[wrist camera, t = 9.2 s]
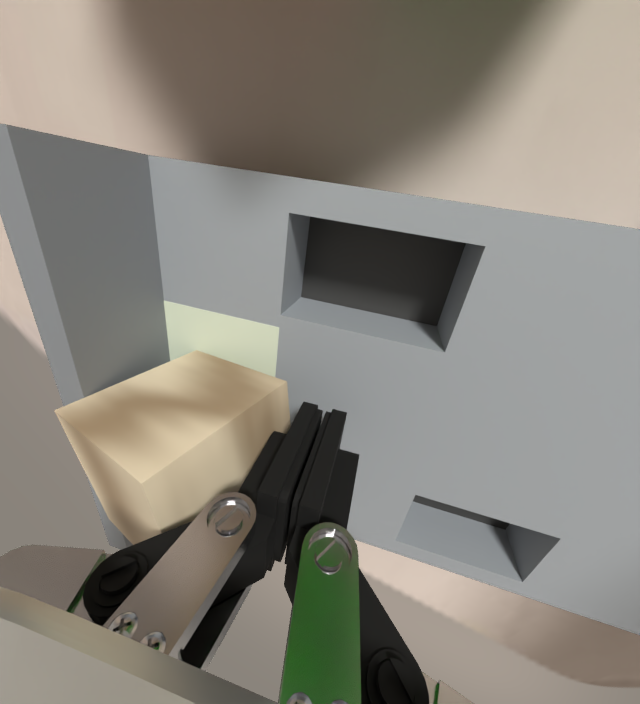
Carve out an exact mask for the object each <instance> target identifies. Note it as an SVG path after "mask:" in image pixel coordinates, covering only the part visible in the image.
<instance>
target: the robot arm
mask: <svg viewBox="0 0 640 704" xmlns="http://www.w3.org/2000/svg"><path fill="white" fill-rule="evenodd" d="M322 413H323V410H320V409H318V405H316V404H312V403H308V402H303V403H302V405H301V407H300V409H299V411H298V413H297V415H296V417H295V419H294V421H293V423H292V425H291V427H290V429H289V431H288V433H287V434H284V433H281V432H277V431H274V432H273V433H272V434H271V436H270V437H269V439H268V441H267V443H266V444H265V446H264V448H263V449H262V451H261V453H260V455H259V456H258V458H257V460H256V462H255V463H254V465H253V467H252V468H251V470H250V472H249V474H248V475H247V477H246V479H245V481H244V482H243V484H242V486H241V487H240V489H239V491H238V492H228V493H224V494H221V495H219V496H217V497H216V498H214V499H213V500H212V501H210V502H209V503H208V504H207V505H206V507H205V508H204V509H203V510H202V511H201V512H200V514H199V515H198V516H197V517H196V518H195V519H194V520H193V521H191V522H189V523H186V524H184V525H181V526H179V527H176V528H174V529H171V530H169V531H166V532H164V533H161V534H159V535H156V536H154V537H152V538H149V539H147V540H144V541H142V542H139V543H137V544H134V545H132V546H129V547H127V548H124V549H122V550H120V551H118V552H116V553H114V554H107V553H105V551H104V550H100V549H87V548H73V547H60V546H47V545H25V546H21V547H18V548H16V549H13V550H10V551H9V552H7V553H5V554H4V555H2V556H1V557H0V704H474V703H472V702H471V701H470V700H468V699H467V698H465V697H464V696H462V695H461V694H460V693H458V692H457V691H455V690H454V689H452V688H451V687H450V686H448V685H447V684H445V683H444V682H442V681H441V680H440V681H439V682H438V683H437V682H436V681H434V680H433V679H432V678H430V677H429V676H428V675H426V674H425V673H423V672H422V671H421V669H420V667H419V666H418V663H417V662H416V660H415V659H414V657H413V655H412V654H411V652H410V650H409V649H408V647H407V645H406V644H405V642H404V641H403V639H402V637H401V636H400V634H399V632H398V631H397V629H396V627H395V626H394V624H393V623H392V621H391V619H390V618H389V616H388V614H387V613H386V611H385V610H384V608H383V606H382V605H381V603H380V602H379V600H378V598H377V597H376V595H375V593H374V592H373V590H372V588H371V587H370V585H369V584H368V582H367V580H366V579H365V577H364V575H363V574H362V572H361V570H360V569H359V564H358V550H357V545H356V543H355V540H354V538H353V537H352V535H351V534H350V533H349V532H348V531H347V525H348V519H349V513H350V508H351V502H352V496H353V490H354V484H355V479H356V473H357V467H358V461H359V454H356V453H352V452H349V451H345V450H342V449H340V444H341V440H342V435H343V430H344V425H345V421H346V416H347V412H343V411H339V410H336V409H332V412H327V411H326V413H325V415H324V418H323V421H322V423H321V419H322ZM320 425H321V426H320ZM286 546H287V549H286ZM285 549H286V557H285V564H287V566H286V574H285V582H284V586H285V588H286V591H287V593H288V596H289V598H290V601H291V603H292V610H291V617H290V624H289V631H288V638H287V645H286V651H285V658H284V665H283V672H282V679H281V685H280V692H279V699H278V703H276V702H274V701H272V700H270V699H267V698H265V697H263V696H260V695H258V694H256V693H254V692H251V691H249V690H247V689H245V688H242V687H240V686H238V685H235V684H233V683H231V682H229V681H226V680H224V679H222V678H219V677H217V676H215V675H212V674H210V673H208V672H206V670H207V668H208V666H209V664H210V662H211V660H212V659H213V657H214V655H215V653H216V651H217V649H218V647H219V646H220V644H221V642H222V640H223V639H224V637H225V635H226V633H227V631H228V630H229V628H230V626H231V624H232V622H233V620H234V619H235V617H236V615H237V613H238V611H239V610H240V608H241V606H242V604H243V602H244V600H245V599H246V597H247V595H248V593H249V591H250V589H251V587H252V584H253V583H255V582H257V581H259V580H260V579H262V578H264V576H265V573H266V571H267V570H269V571H271V570H272V567H273V564H274V561H275V560H276V561H278V562H281V560H282V557H283V554H284V552H285Z"/></svg>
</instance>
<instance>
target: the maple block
mask: <svg viewBox="0 0 640 704" xmlns="http://www.w3.org/2000/svg"><path fill="white" fill-rule="evenodd" d="M54 411H55V413H56V415H57V417H58V419H59V421H60V423H61V425H62V427H63V429H64V431H65V433H66V435H67V437H68V439H69V441H70V442H71V445H72V447H73V449H74V450H75V453H76V455H77V456H78V458H79V461H80V463H81V465H82V467H83V469H84V470H85V472H86V474H87V476H88V478H89V480H90V482H91V484H92V486H93V488H94V490H95V492H96V494H97V496H98V498H99V500H100V502H101V504H102V506H103V508H104V510H105V512H106V514H107V516H108V518H109V520H110V521H111V522H112V523H113V524H114V525H115V526H116V527H117V528H118V529H119V530H120V531H121V532H122V533H123V535H124V536H125V537H126V538H127V539H128V540H129V541H130V542H131V543H132V544H133V545H134V544H137V543H139V542H142V541H144V540H147V539H149V538H152V537H154V536H156V535H159V534H161V533H164V532H166V531H169V530H171V529H174V528H176V527H179V526H181V525H184V524H186V523H189V522H191V521H193V520H194V519H195V518H196V517H197V516H198V515H199V514H200V512H201V511H202V510H203V509H204V508H205V507H206V505H207V504H208V503H209V502H210V501H212V500H213V499H214V498H216V497H217V496H219V495H221V494H224V493H228V492H238V491H239V489H240V487H241V486H242V484H243V482H244V481H245V479H246V477H247V475H248V474H249V472H250V470H251V468H252V467H253V465H254V463H255V462H256V460H257V458H258V456H259V455H260V453H261V451H262V449H263V448H264V446H265V444H266V443H267V441H268V439H269V437H270V436H271V434H272V433H273V432H274V431H277V432H281V433H284V434H287V433H288V431H289V429H290V427H291V423H290V411H289V399H288V387H287V381H284V380H282V379H279V378H276V377H273V376H270V375H267V374H264V373H261V372H258V371H256V370H253V369H250V368H247V367H244V366H241V365H238V364H235V363H233V362H230V361H227V360H224V359H221V358H218V357H215V356H212V355H209V354H207V353H204V352H201V351H198V350H195V351H193V352H191V353H188V354H186V355H184V356H181V357H179V358H177V359H174V360H172V361H170V362H167V363H165V364H162V365H160V366H158V367H155V368H153V369H151V370H148V371H146V372H144V373H141V374H139V375H137V376H134V377H132V378H130V379H127V380H125V381H122V382H120V383H118V384H115V385H113V386H111V387H108V388H106V389H104V390H101V391H99V392H97V393H94V394H92V395H90V396H87V397H85V398H82V399H80V400H78V401H75V402H73V403H71V404H68V405H66V406H64V407H61V408H59V409H57V410H54Z"/></svg>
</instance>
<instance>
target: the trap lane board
mask: <svg viewBox="0 0 640 704" xmlns="http://www.w3.org/2000/svg"><path fill="white" fill-rule="evenodd" d="M0 215H1V218H2V221H3V224H4V227H5V230H6V233H7V236H8V239H9V242H10V245H11V248H12V251H13V254H14V257H15V260H16V263H17V266H18V269H19V272H20V275H21V278H22V281H23V285H24V288H25V291H26V294H27V297H28V300H29V303H30V306H31V309H32V312H33V315H34V318H35V321H36V324H37V327H38V330H39V333H40V336H41V339H42V342H43V345H44V348H45V351H46V354H47V357H48V360H49V363H50V366H51V369H52V372H53V375H54V379H55V382H56V385H57V388H58V391H59V394H60V397H61V400H62V403H63V406H66V405H68V404H71V403H73V402H75V401H78V400H80V399H82V398H85V397H87V396H90V395H92V394H94V393H97V392H99V391H101V390H104V389H106V388H108V387H111V386H113V385H115V384H118V383H120V382H122V381H125V380H127V379H130V378H132V377H134V376H137V375H139V374H141V373H144V372H146V371H148V370H151V369H153V368H155V367H158V366H160V365H162V364H165V363H167V362H170V361H172V360H174V359H177V358H179V357H181V356H184V355H186V354H188V353H191V352H193V351H195V350H198V351H201V352H204V353H207V354H209V355H212V356H215V357H218V358H221V359H224V360H227V361H230V362H233V363H235V364H238V365H241V366H244V367H247V368H250V369H253V370H256V371H258V372H261V373H264V374H267V375H270V376H273V377H276V378H279V379H282V380H284V381H287V387H288V399H289V411H290V423H291V425H292V423H293V421H294V419H295V417H296V415H297V413H298V411H299V409H300V407H301V405H302V403H303V402H308V403H312V404H316V405H318V409H320V410H323V413H322V419H321V423H322V421H323V418H324V415H325V413H326V411H327V412H332V409H336V410H339V411H343V412H347V416H346V421H345V425H344V430H343V435H342V440H341V444H340V449H342V450H345V451H349V452H352V453H356V454H359V461H358V467H357V473H356V479H355V484H354V490H353V496H352V502H351V508H350V513H349V519H348V525H347V531H348V532H349V533H350V534H351V535H352V537H353V538H354V539H355V540H357V541H360V542H363V543H366V544H369V545H372V546H375V547H378V548H381V549H384V550H387V551H390V552H393V553H396V554H399V555H402V556H405V557H408V558H411V559H414V560H417V561H420V562H423V563H426V564H429V565H432V566H435V567H438V568H441V569H444V570H447V571H450V572H453V573H456V574H459V575H462V576H465V577H468V578H471V579H474V580H477V581H480V582H483V583H486V584H489V585H492V586H494V587H497V588H500V589H503V590H506V591H509V592H512V593H515V594H518V595H521V596H524V597H527V598H530V599H533V600H536V601H539V602H542V603H545V604H548V605H551V606H554V607H557V608H560V609H563V610H566V611H569V612H572V613H575V614H578V615H581V616H584V617H587V618H590V619H593V620H596V621H599V622H602V623H605V624H608V625H611V626H614V627H617V628H620V629H623V630H626V631H629V632H631V633H634V634H637V635H640V229H635V228H628V227H622V226H615V225H608V224H602V223H595V222H588V221H582V220H575V219H569V218H562V217H555V216H549V215H542V214H535V213H529V212H522V211H516V210H509V209H502V208H496V207H489V206H482V205H476V204H469V203H463V202H456V201H449V200H443V199H436V198H429V197H423V196H416V195H410V194H403V193H396V192H390V191H383V190H376V189H370V188H363V187H357V186H350V185H343V184H337V183H330V182H323V181H317V180H310V179H303V178H297V177H290V176H284V175H277V174H270V173H264V172H257V171H250V170H244V169H237V168H231V167H224V166H217V165H211V164H204V163H197V162H191V161H184V160H178V159H171V158H164V157H158V156H151V155H146V154H141V153H136V152H132V151H127V150H122V149H118V148H113V147H108V146H104V145H99V144H94V143H90V142H85V141H80V140H76V139H71V138H66V137H62V136H57V135H53V134H48V133H43V132H39V131H34V130H29V129H25V128H20V127H15V126H11V125H6V124H0ZM320 426H321V425H320ZM86 476H87V474H86ZM87 478H88V476H87ZM88 482H89V484H90V488H91V491H92V494H93V497H94V500H95V503H96V506H97V509H98V512H99V515H100V518H101V521H102V524H103V527H104V530H105V533H106V536H107V539H108V542H109V545H110V546H113V547H116V548H118V549H121V550H122V549H124V548H127V547H129V546H132V545H133V544H132V543H131V542H130V541H129V540H128V539H127V538H126V537H125V536H124V535H123V533H122V532H121V531H120V530H119V529H118V528H117V527H116V526H115V525H114V524H113V523H112V522H111V521H110V520H109V518H108V516H107V514H106V512H105V510H104V508H103V506H102V504H101V502H100V500H99V498H98V496H97V494H96V492H95V490H94V488H93V486H92V484H91V482H90V480H89V478H88Z"/></svg>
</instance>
